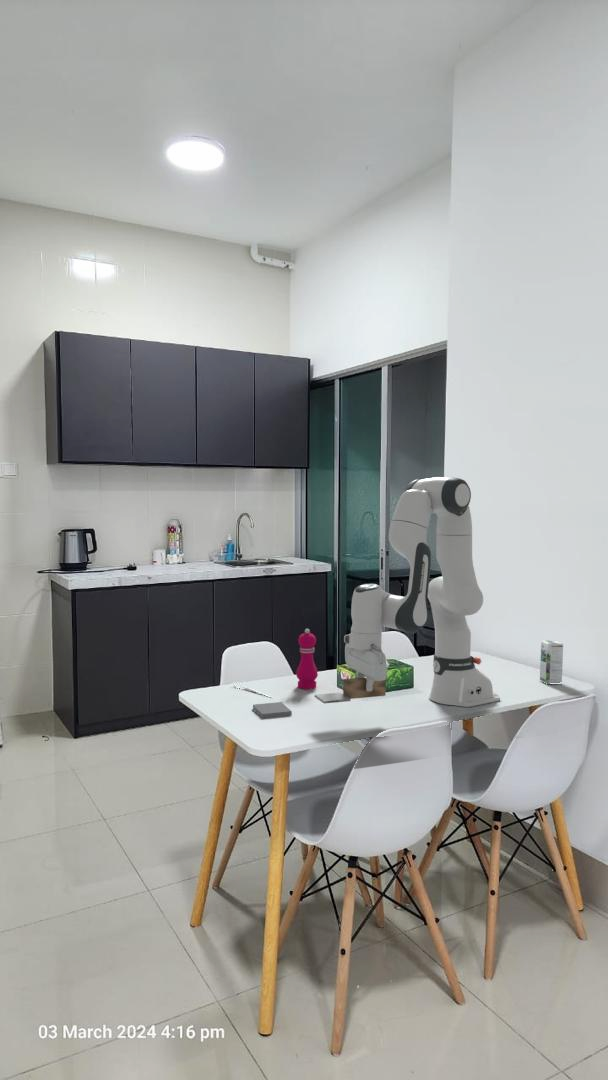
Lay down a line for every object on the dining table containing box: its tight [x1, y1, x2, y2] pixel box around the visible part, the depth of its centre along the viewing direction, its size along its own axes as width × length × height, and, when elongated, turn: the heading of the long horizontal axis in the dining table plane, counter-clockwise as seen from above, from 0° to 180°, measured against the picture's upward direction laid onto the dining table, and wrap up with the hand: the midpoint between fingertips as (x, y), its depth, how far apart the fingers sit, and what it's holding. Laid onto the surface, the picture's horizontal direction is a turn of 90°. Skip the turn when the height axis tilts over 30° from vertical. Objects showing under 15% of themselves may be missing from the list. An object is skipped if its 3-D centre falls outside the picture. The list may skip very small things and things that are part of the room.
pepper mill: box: [296, 628, 319, 690], centre depth 248 cm, size 7×7×20 cm
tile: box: [252, 701, 293, 719], centre depth 220 cm, size 2×10×9 cm
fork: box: [231, 680, 272, 698], centre depth 242 cm, size 3×20×2 cm, turn 43°
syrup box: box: [539, 639, 564, 684], centre depth 255 cm, size 6×6×14 cm
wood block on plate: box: [314, 676, 387, 704], centre depth 209 cm, size 20×7×5 cm, turn 111°
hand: (364, 688), depth 210 cm, fingers closed on wood block on plate, 3 cm apart
